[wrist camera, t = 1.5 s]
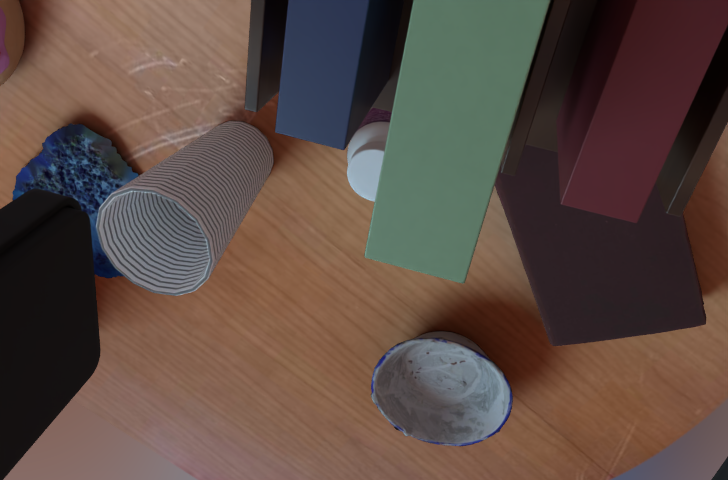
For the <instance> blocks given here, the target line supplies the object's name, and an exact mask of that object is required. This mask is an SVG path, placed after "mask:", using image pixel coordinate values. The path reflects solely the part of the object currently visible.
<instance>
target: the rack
mask: <svg viewBox="0 0 728 480" xmlns="http://www.w3.org/2000/svg"><path fill="white" fill-rule="evenodd" d="M288 1H289V0H251V14H250V30H249V46H248V63H247V79H246V95H245V109H246V110H249V111H254V112H258V111H259V110H260V109H261V108H262V107H263V106H264V105H265V104H266V103H267V102H268V101H270V100H271V99H272V98H273V97H274V96H275V95H276V94H277V93H278V92H279V88H280V78H281V68H282V59H283V49H284V39H285V30H286V20H287V10H288ZM413 1H414V0H404V4H403V9H402V14H401V19H400V24H399V29H398V34H397V39H396V44H395V49H394V55H393V60H392V65H391V70H390V75H389V80H388V82H387V84H386V85H385V87H384V89H383V90H382V92H381V93H380V95H379V96H378V98H377V100H376V101H375V103H374V104H373V106H372V107H373V108H377V109H381V110H385V111H389V112H392V110H393V104H394V99H395V94H396V89H397V84H398V79H399V73H400V68H401V63H402V58H403V53H404V47H405V42H406V37H407V32H408V27H409V21H410V16H411V11H412V6H413ZM597 1H598V0H550V4H549V7H548V10H547V14H546V17H545V20H544V23H543V27H542V30H541V33H540V37H539V40H538V43H537V46H536V50H535V53H534V56H533V60H532V63H531V66H530V69H529V73H528V76H527V79H526V83H525V86H524V89H523V93H522V96H521V99H520V102H519V106H518V109H517V112H516V116H515V119H514V122H513V125H512V129H511V132H510V135H509V139H508V142H507V145H506V148H505V152H504V155H503V158H502V166H501V173H504V174H508V175H512V176H515V175H516V172H517V169H518V166H519V162H520V159H521V156H522V153H523V150H524V147H525V144H526V145H530V146H534V147H539V148H543V149H547V150H551V151H555V152H558V146H557V126H556V120H557V117H558V114H559V111H560V108H561V105H562V102H563V100H564V97H565V94H566V91H567V88H568V85H569V82H570V79H571V76H572V73H573V70H574V67H575V65H576V62H577V59H578V56H579V53H580V50H581V47H582V44H583V41H584V38H585V35H586V33H587V30H588V27H589V24H590V21H591V18H592V15H593V12H594V9H595V6H596V3H597ZM727 123H728V25H727V28H726V30H725V32H724V34H723V36H722V38H721V41H720V43H719V45H718V47H717V49H716V52H715V54H714V56H713V58H712V60H711V62H710V65H709V67H708V69H707V71H706V73H705V76H704V78H703V80H702V82H701V84H700V86H699V89H698V91H697V93H696V95H695V97H694V100H693V102H692V104H691V106H690V108H689V110H688V113H687V115H686V117H685V119H684V121H683V124H682V126H681V128H680V130H679V132H678V134H677V137H676V139H675V141H674V143H673V145H672V148H671V150H670V152H669V154H668V156H667V158H666V161H665V163H664V165H663V167H662V169H661V172H660V174H659V176H658V178H657V180H656V184H657V187H658V190H659V193H660V196H661V199H662V202H663V205H664V208H665V211H666V213H667V214H671V215H675V216H679V217H680V216H681V215H682V213H683V211H684V209H685V207H686V205H687V203H688V201H689V199H690V197H691V195H692V193H693V191H694V189H695V187H696V185H697V183H698V181H699V179H700V177H701V175H702V173H703V171H704V169H705V167H706V165H707V163H708V161H709V159H710V157H711V155H712V153H713V151H714V149H715V147H716V145H717V143H718V141H719V139H720V137H721V135H722V133H723V131H724V129H725V127H726V125H727Z"/></svg>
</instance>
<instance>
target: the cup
mask: <svg viewBox="0 0 728 480" xmlns="http://www.w3.org/2000/svg"><path fill="white" fill-rule="evenodd" d="M273 163H274V159H273V150H272V148H271V146H270V144H269V142H268V140H267V138H266V136H265V135H263V134H262V133H261V132H260V131H259V130H258V129H257V128H256V127H254V126H252V125H250V124H248V123H245V122H241V121H228V122H225V123H223V124H220V125H218V126H216V127H215V128H213V129H212V130H210V131H209V132H207V133H206V134H204V135H202V136H201V137H199V138H198V139H196V140H195V141H193V142H191V143H190V144H188V145H187V146H185V147H184V148H182V149H180V150H179V151H177V152H176V153H174V154H173V155H171V156H169V157H168V158H166V159H165V160H163V161H162V162H160V163H158V164H157V165H155V166H154V167H152V168H151V169H149V170H148V171H146V172H144V173H143V174H141V175H140V176H138V177H137V178H135V179H133V180H132V181H130V182H129V183H127V184H126V185H124V186H122V187H121V188H119V189H118V190H116V191H115V192H113V193H111V195H110V196H109V197H108V198H107V199H106V200H105V202H104V203H103V204H102V205H101V206H100V208H99V213H98V218H97V224H96V229H97V232H98V236H99V240H100V244H101V247H102V249H103V251H104V252H105V254H106V255H107V257H108V258H109V260H110V261H111V263H112V264H113V266H114V267H115V268H116V269H117V270H118V271H119V272H120V273H122V274H123V275H124V276H125V277H126V278H127V279H129V280H130V281H131V282H132V283H134V284H136V285H138V286H140V287H142V288H144V289H147V290H149V291H151V292H153V293H159V294H166V295H174V296H177V295H181V294H185V293H189V292H193V291H195V290H196V289H198V288H199V287H200V286H201V285H202V284H203V283H204V282H205V281H206V280H208V278H209V277H210V275H211V273H212V272H213V270H214V268H215V267H216V265H217V263H218V261H219V260H220V258H221V256H222V255H223V253H224V251H225V249H226V248H227V246H228V244H229V243H230V241H231V239H232V238H233V236H234V234H235V232H236V231H237V229H238V227H239V226H240V224H241V222H242V221H243V219H244V217H245V215H246V214H247V212H248V210H249V209H250V207H251V205H252V203H253V202H254V200H255V198H256V197H257V195H258V193H259V192H260V190H261V188H262V186H263V185H264V183H265V181H266V180H267V178H268V176H269V175H270V172H271V169H272V166H273Z"/></svg>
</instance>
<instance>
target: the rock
mask: <svg viewBox="0 0 728 480" xmlns="http://www.w3.org/2000/svg"><path fill="white" fill-rule="evenodd" d="M111 144H112V143H111V140H110V139H107V138H104V137H102V136H100V135H98V134H96V133H94V132H93V131H91V130H89V129H88V128H86V127H85V126H84V125H82V124H77V125H73V124H69V125H68V126H66V127H63V128H61V129H58V131H55V132H53V133H52V134H51V135H50V136H49V137H47V138H46V140H45V143H42V146H43V148H44V149H43V150H42V152H41V153H40V154H39V156H37V157H35V158H34V159H31V160H30V162H29V163H28V165H27V166H26V168H25V167H24V168H22V169H21V171H20V173H19V174H18V175H17V176H16V185H15V189H14V191H13V200H15V199H16V198H18V197H19V196H21V195H22V194H24V193H25V192H27V191H29V190H31V189H42V190H45V191H49V192H53V193H56V194H60V195H64V196H68V197H71V198H74V199H76V200H77V201H78V202H79V204H80V205H81V209H82V211H84V212H86V213H87V214H88V216H89V218H90V223H91V236H92V248H93V261H94V274H95V275H97V276H99V277H105V278H112V277H117V276H124V275H123V274H122V273H120V272H119V271H118V270H117V269H116V268H115V267H114V266H113V264H112V263H111V261H110V260H109V258H108V257H107V255H106V254H105V252H104V251H103V249H102V247H101V244H100V240H99V236H98V232H97V229H96V224H97V218H98V213H99V208H100V206H101V205H102V204H103V203H104V202H105V200H106V199H107V198H108V197H109V196H110V195H111V193H113V192H115V191H116V190H118V189H119V188H121V187H122V186H124V185H126V184H127V183H129V182H130V181H132V180H133V179H135V178H137V177H138V173H133V172H132V170H131V169H132V167H128V166H127V163H126V162H125V161H123V160H122V158H121V156H120V155H119V154H117V153H116V152H117V149H116V147H112V146H111Z"/></svg>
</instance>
